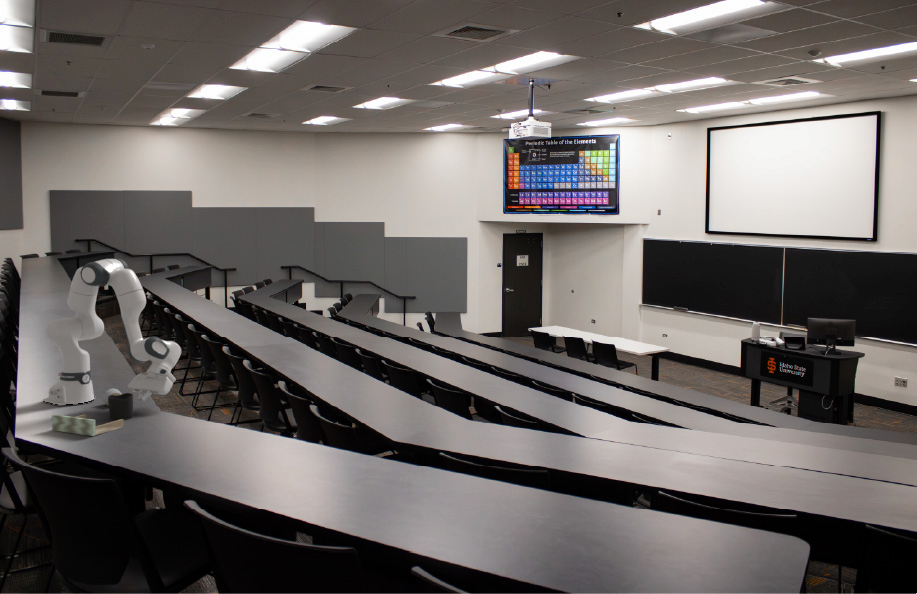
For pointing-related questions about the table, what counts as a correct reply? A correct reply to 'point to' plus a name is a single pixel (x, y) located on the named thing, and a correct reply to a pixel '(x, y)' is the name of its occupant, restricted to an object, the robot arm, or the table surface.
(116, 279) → the robot arm
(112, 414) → the pen holder
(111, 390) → the ceramic mug
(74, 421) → the corral
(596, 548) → the table surface
